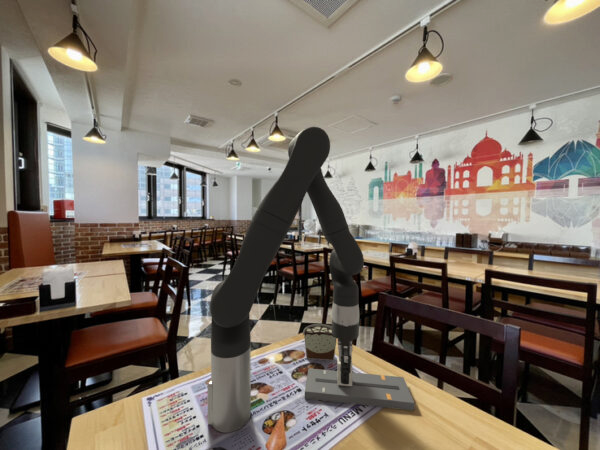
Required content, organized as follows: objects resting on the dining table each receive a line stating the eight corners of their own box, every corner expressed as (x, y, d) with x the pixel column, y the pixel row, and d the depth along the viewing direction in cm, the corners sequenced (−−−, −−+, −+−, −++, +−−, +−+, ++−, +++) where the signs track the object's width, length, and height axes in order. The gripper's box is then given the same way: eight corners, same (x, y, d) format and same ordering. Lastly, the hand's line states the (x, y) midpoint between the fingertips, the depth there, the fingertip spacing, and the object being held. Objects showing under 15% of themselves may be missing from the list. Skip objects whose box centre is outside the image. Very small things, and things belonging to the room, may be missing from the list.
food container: (337, 351, 89) (337, 324, 88) (338, 360, 83) (338, 332, 82) (303, 349, 90) (303, 322, 90) (302, 358, 84) (302, 330, 83)
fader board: (304, 398, 65) (304, 390, 65) (308, 374, 75) (308, 368, 75) (414, 410, 62) (414, 402, 61) (403, 383, 71) (403, 376, 71)
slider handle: (337, 384, 67) (337, 363, 67) (337, 376, 71) (337, 356, 71) (352, 386, 67) (352, 364, 67) (351, 378, 70) (351, 357, 70)
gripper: (332, 308, 76) (331, 362, 76) (331, 328, 62) (330, 395, 62) (356, 309, 75) (355, 364, 75) (361, 330, 61) (360, 398, 61)
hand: (344, 378), depth 69 cm, fingers closed on slider handle, 3 cm apart
